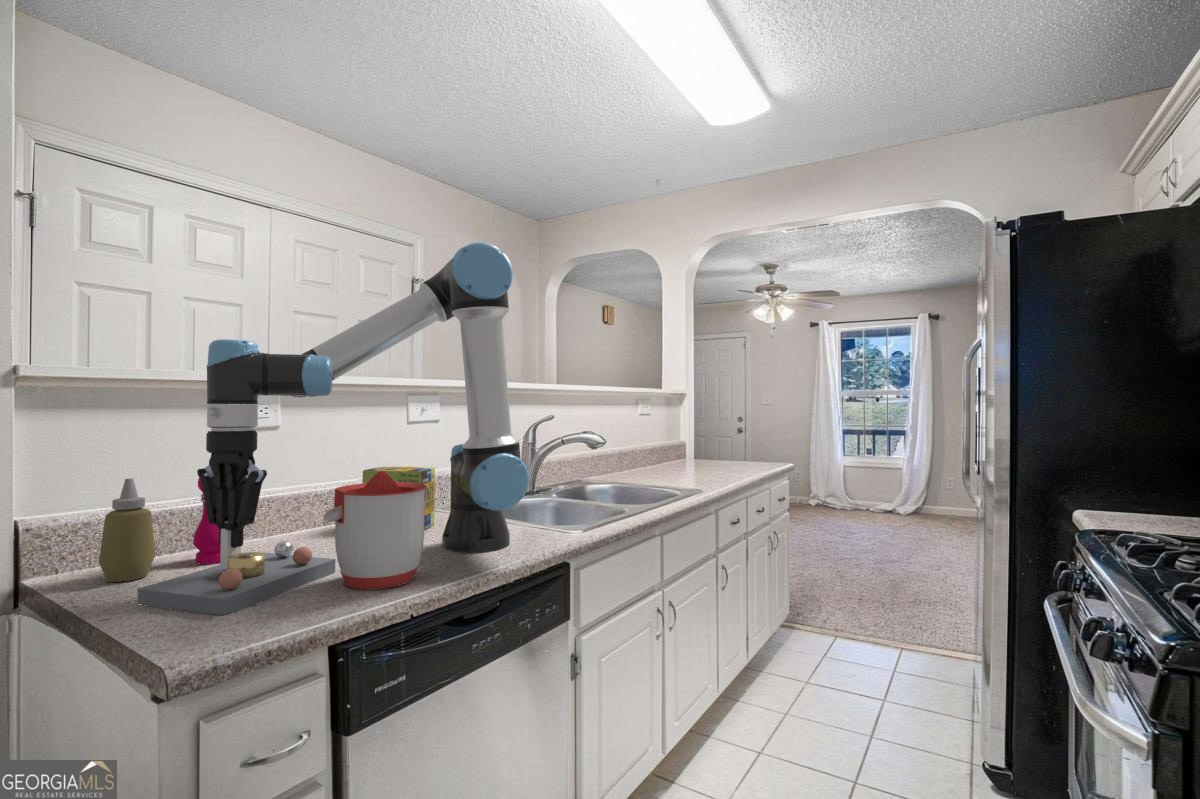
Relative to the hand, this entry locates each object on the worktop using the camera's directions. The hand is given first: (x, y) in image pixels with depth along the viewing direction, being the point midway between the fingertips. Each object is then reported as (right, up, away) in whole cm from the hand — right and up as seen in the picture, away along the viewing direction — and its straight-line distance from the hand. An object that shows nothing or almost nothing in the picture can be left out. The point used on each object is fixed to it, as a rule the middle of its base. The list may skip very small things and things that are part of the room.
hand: (230, 565), depth 101 cm
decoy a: (+10, 0, +6) cm, 11 cm away
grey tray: (+2, -4, 0) cm, 5 cm away
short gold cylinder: (+3, -1, -1) cm, 4 cm away
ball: (+4, 0, +10) cm, 11 cm away
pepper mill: (-14, -4, +17) cm, 23 cm away
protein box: (+12, -5, +49) cm, 51 cm away
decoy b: (+6, 0, -9) cm, 11 cm away
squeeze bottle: (-22, -4, +5) cm, 23 cm away
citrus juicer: (+24, -4, +4) cm, 24 cm away
